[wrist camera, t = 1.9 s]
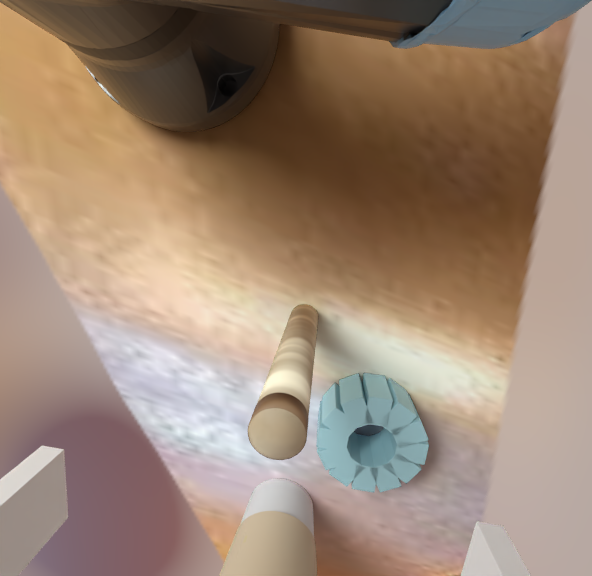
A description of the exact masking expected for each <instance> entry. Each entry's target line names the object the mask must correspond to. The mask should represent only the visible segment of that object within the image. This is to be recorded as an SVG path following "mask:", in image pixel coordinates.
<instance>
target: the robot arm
mask: <svg viewBox="0 0 592 576" xmlns="http://www.w3.org/2000/svg"><path fill="white" fill-rule="evenodd" d="M590 1H591V0H0V2H1V3H3V4H4V5H6V6H7V7H9V8H11V9H12V10H14V11H15V12H17V13H19V14H20V15H22V16H23V17H25V18H26V19H28V20H30V21H31V22H33V23H34V24H36V25H38V26H39V27H41V28H42V29H44V30H45V31H47V32H49V33H50V34H52V35H54V36H55V37H57V38H59V39H60V40H62V41H63V42H65V43H66V44H67V45H68V46H69V47H70V48H71V50H72V51H73V52H74V53H75V54H76V55H77V57H78V58H79V59H80V60H81V61H82V63H83V64H84V65H85V66H86V68H87V70H88V71H89V73H90V74H91V76H92V77H93V78H94V80H95V81H96V82H97V84H98V85H99V86H100V87H101V88H102V90H103V91H104V92H105V93H106V94H107V95H108V96H109V97H110V98H111V99H113V100H114V101H115V102H116V103H117V104H119V105H120V106H121V107H122V108H124V109H125V110H127V111H128V112H130V113H132V114H133V115H135V116H137V117H139V118H141V119H143V120H145V121H147V122H149V123H151V124H153V125H155V126H158V127H161V128H164V129H168V130H172V131H179V132H195V131H202V130H206V129H210V128H213V127H216V126H218V125H221V124H223V123H225V122H226V121H228V120H230V119H232V118H233V117H234V116H236V115H237V114H238V113H240V112H241V111H242V110H243V109H244V108H245V107H246V106H247V105H248V104H249V103H250V102H251V101H252V100H253V99H254V97H255V96H256V95H257V93H258V92H259V90H260V89H261V87H262V86H263V84H264V82H265V80H266V78H267V76H268V74H269V72H270V69H271V67H272V64H273V61H274V58H275V54H276V50H277V44H278V38H279V26H280V24H286V25H292V26H298V27H304V28H311V29H317V30H323V31H329V32H336V33H342V34H348V35H354V36H361V37H367V38H373V39H379V40H385V41H389V42H390V43H391V44H392V46H393V47H396V48H404V49H407V48H412V47H417V46H419V45H421V44H423V43H424V44H435V45H446V46H458V47H469V48H480V49H495V48H502V47H507V46H511V45H514V44H517V43H520V42H523V41H526V40H528V39H529V38H531V37H533V36H535V35H536V34H538V33H540V32H542V31H543V30H545V29H546V28H548V27H549V26H551V25H552V24H553V23H554V22H556V21H559V20H562V19H564V18H567V17H568V16H570V15H572V14H573V13H575V12H576V11H578V10H579V9H581V8H582V7H583V6H585V5H586V4H588V3H589V2H590ZM67 518H68V508H67V491H66V475H65V459H64V450H63V449H58V448H51V447H46V446H41V447H40V448H39V449H37V450H36V451H35V452H34V453H32V454H31V455H30V456H29V457H28V458H26V459H25V460H24V461H23V462H21V463H20V464H19V465H18V466H17V467H15V468H14V469H13V470H12V471H10V472H9V473H8V474H7V475H5V476H4V477H3V478H2V479H1V480H0V576H18V575H19V574H20V573H21V572H22V571H23V570H24V568H25V567H26V566H27V565H28V564H29V562H30V561H31V560H32V559H33V558H34V557H35V556H36V554H37V553H38V552H39V551H40V550H41V549H42V547H43V546H44V545H45V544H46V543H47V541H48V540H49V539H50V538H51V537H52V536H53V535H54V534H55V532H56V531H57V530H58V529H59V527H60V526H61V525H62V524H63V523H64V522H65V521H66V519H67ZM461 576H531V575H530V573H529V571H528V569H527V568H526V566H525V564H524V562H523V561H522V559H521V557H520V555H519V553H518V551H517V550H516V548H515V546H514V545H513V543H512V541H511V539H510V537H509V535H508V534H507V532H506V530H505V529H504V527H503V526H501V525H496V524H490V523H484V522H478V521H477V522H476V525H475V529H474V532H473V535H472V539H471V542H470V546H469V549H468V552H467V556H466V559H465V563H464V566H463V569H462V573H461Z"/></svg>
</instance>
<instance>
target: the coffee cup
mask: <svg viewBox="0 0 592 576" xmlns="http://www.w3.org/2000/svg"><path fill="white" fill-rule="evenodd" d="M219 576H317V560H316V544H315V540H314V519H313V503H312V500H311V497H310V495H309V494H308V492H307V491H306V490H305V489H304V488H303V487H302V486H300V485H299V484H297V483H295V482H293V481H291V480H287V479H280V478H277V479H270V480H267V481H264V482H262V483H261V484H259V485H258V486H257V487H256V488H255V489H254V491H253V492H252V495H251V497H250V500H249V503H248V505H247V508H246V511H245V513H244V516H243V519H242V521H241V524H240V526H239V527H238V529H237V532H236V534H235V537H234V539H233V542H232V545H231V547H230V550H229V552H228V555H227V557H226V560H225V562H224V565H223V568H222V570H221V573H220V575H219Z"/></svg>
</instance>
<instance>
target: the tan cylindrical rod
mask: <svg viewBox="0 0 592 576" xmlns="http://www.w3.org/2000/svg"><path fill="white" fill-rule="evenodd" d="M317 326H318V314H317V311H316V310H315V309H314V308H313V307H312V306H310V305H307V304H302V305H298V306H296V307H295V308H294V309H293V310H292V312H291V315H290V318H289V320H288V323H287V326H286V328H285V331H284V334H283V336H282V339H281V342H280V344H279V347H278V350H277V352H276V355H275V358H274V360H273V363H272V366H271V368H270V371H269V374H268V376H267V379H266V382H265V384H264V387H263V390H262V392H261V395H260V398H259V400H258V403H257V405H256V407H255V410H254V412H253V415H252V418H251V420H250V423H249V426H248V437H249V440H250V443H251V444H252V446H253V447H254V449H255V450H256V451H257V452H259V453H260V454H262V455H263V456H265V457H267V458H270V459H275V460H284V459H289V458H292V457H294V456H296V455H297V454H298V453H299V452H300V451H301V450H302V449H303V447H304V446H305V443H306V438H307V428H308V414H309V404H310V394H311V385H312V375H313V365H314V355H315V345H316V336H317Z"/></svg>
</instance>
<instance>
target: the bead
mask: <svg viewBox="0 0 592 576" xmlns="http://www.w3.org/2000/svg"><path fill="white" fill-rule="evenodd" d="M339 385H340V386H339ZM339 385H337V384H336V383H334V384H333V385H332V387H331V388H330V389H329V390H328V391H327V392H326V393H325V395H324V396H323V398H322V401H321V402H320V408H319V415H318V429H317V447H318V449H317V452H318V455H319V457H320V459H321V461H322V463H323V465H324V467H325V469H326V470H328V469H329V474H330V475H331V476H333V477H334V478H335V479H337V480H338V481H340V482H341V483H343V484H344V485H345V486H348V485H349V484H350V483H351V482H352V489H357V490H362V491H368V492H374V491H375V486H376V484H377V487H378V489H379V491H380V492H383V491H387V490H390V489H394V488H398V487H401V483H400V480H402V481H403V482H405V483H406V484H407V483H408V482H409V481H410V480H411V479H412V478H413V477H414V476H415V475H416V474H417V473H418V472H419V471H421V470H422V469H421V466H420V464H422V465H424V464H425V460H426V456H427V452H428V448H429V444H428V442H427V440H428V437H427V435H426V432H425V430H424V427H423V425H422V422H421V420H420V417H419V415H418V413H417V411H416V408H415V406H414V404H413V402H412V399H411V397H410V395H409V394H407V391H406V390H405V389H404V388H403V387H401V386H400V385H399V384H397V383H396V382H395V381H393V380H392V379H391V378H389V379H388V380H387V381H386V378H385V376H383V375H376V374H369V373H364V375H363V380H361V378H360V376H359V373H358V374H355V375H352V376H349V377H346V378H343V379H340V380H339ZM369 424H370V425H377V426H382V427H384V429H383V430H382V431H381V432H380V433H377V434H374V435H371V436H365V435H359V434H356V433H355V432H354V431H355V430H356V428H359V427H362V426H365V425H369Z"/></svg>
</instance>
